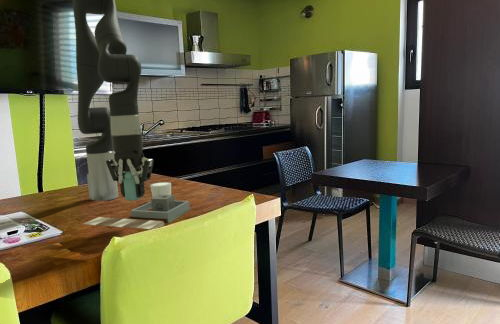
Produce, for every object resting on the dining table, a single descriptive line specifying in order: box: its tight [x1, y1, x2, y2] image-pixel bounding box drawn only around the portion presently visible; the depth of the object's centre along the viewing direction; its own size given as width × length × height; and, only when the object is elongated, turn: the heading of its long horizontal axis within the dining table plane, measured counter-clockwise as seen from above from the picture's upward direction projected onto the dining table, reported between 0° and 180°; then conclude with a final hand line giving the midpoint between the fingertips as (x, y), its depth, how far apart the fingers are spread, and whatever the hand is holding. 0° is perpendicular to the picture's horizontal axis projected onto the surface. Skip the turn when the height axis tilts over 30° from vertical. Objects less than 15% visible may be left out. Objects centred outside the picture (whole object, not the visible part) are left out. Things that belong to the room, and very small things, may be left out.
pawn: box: [123, 171, 142, 202], centre depth 100 cm, size 4×4×8 cm
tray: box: [130, 200, 191, 224], centre depth 112 cm, size 12×12×3 cm
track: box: [83, 216, 165, 230], centre depth 103 cm, size 22×7×1 cm, turn 71°
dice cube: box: [150, 194, 176, 212], centre depth 112 cm, size 5×5×5 cm
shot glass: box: [149, 181, 172, 198], centre depth 125 cm, size 7×7×7 cm
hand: (133, 196), depth 100 cm, fingers closed on pawn, 4 cm apart
